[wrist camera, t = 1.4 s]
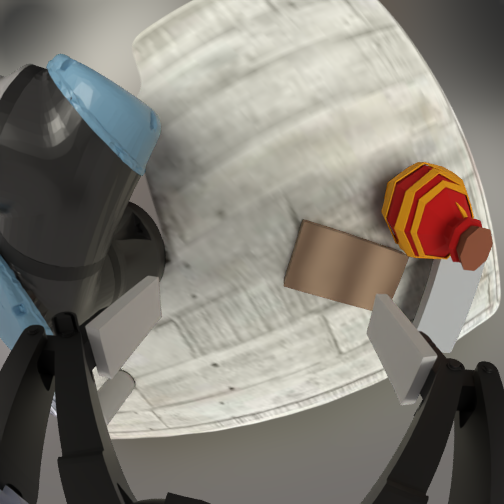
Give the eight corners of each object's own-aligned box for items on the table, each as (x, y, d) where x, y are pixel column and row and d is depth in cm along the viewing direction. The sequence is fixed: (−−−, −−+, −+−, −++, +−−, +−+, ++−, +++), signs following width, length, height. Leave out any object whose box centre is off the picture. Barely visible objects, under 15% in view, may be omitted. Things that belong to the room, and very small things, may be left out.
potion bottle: (435, 221, 31) (503, 281, 18) (370, 239, 32) (425, 316, 19) (429, 146, 26) (516, 177, 13) (358, 159, 28) (431, 199, 15)
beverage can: (132, 392, 44) (103, 432, 32) (112, 378, 44) (80, 415, 32) (138, 379, 43) (108, 422, 31) (117, 364, 43) (83, 403, 31)
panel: (283, 278, 35) (283, 286, 32) (302, 218, 33) (304, 221, 30) (378, 304, 34) (385, 314, 32) (400, 251, 32) (409, 256, 29)
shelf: (389, 322, 34) (407, 350, 27) (420, 211, 30) (450, 219, 23) (429, 327, 34) (450, 352, 27) (460, 224, 30) (491, 234, 22)
